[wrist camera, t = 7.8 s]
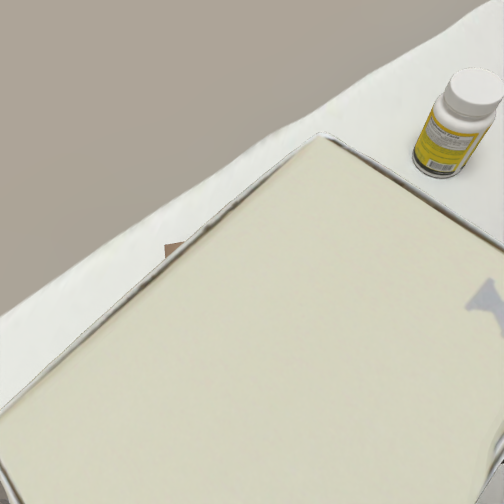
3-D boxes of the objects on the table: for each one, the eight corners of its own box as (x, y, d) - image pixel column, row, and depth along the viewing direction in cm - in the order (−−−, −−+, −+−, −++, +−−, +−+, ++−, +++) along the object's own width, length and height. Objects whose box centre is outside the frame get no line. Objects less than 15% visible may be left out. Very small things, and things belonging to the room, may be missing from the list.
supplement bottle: (443, 133, 37) (484, 56, 30) (474, 168, 35) (527, 94, 28) (401, 150, 37) (432, 75, 29) (430, 186, 35) (472, 116, 27)
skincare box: (300, 324, 17) (333, 105, 6) (381, 399, 15) (633, 290, 4) (189, 438, 15) (-57, 429, 4) (268, 535, 14) (207, 936, 3)
